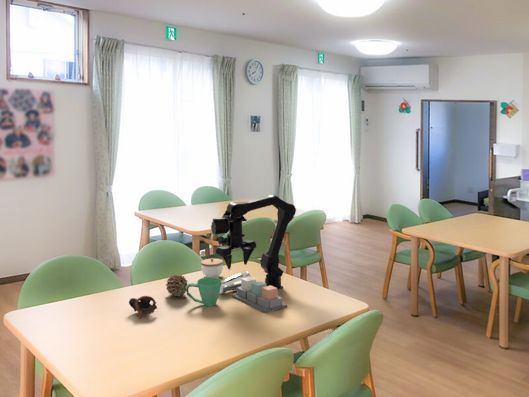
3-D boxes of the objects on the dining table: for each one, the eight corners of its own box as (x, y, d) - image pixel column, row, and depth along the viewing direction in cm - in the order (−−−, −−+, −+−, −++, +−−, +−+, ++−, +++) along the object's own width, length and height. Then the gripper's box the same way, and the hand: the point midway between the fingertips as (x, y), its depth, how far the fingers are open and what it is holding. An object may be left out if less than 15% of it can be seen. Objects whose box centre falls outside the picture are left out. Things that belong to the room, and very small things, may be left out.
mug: (219, 299, 218) (219, 276, 216) (223, 307, 208) (223, 283, 207) (185, 302, 214) (184, 279, 213) (187, 310, 205) (186, 286, 203)
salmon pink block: (270, 297, 211) (270, 285, 210) (277, 300, 207) (277, 288, 206) (261, 299, 208) (261, 287, 207) (268, 302, 205) (268, 290, 204)
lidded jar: (198, 279, 245) (198, 260, 243) (204, 273, 255) (204, 254, 254) (220, 280, 243) (220, 261, 242) (225, 274, 253) (225, 255, 252)
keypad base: (253, 291, 227) (253, 282, 226) (287, 306, 208) (287, 297, 207) (232, 296, 220) (232, 287, 220) (265, 313, 201) (265, 303, 201)
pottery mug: (161, 310, 206) (161, 297, 201) (150, 328, 199) (150, 315, 194) (134, 301, 208) (133, 288, 203) (122, 319, 201) (121, 305, 196)
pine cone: (192, 299, 217) (192, 277, 216) (170, 303, 213) (169, 280, 212) (180, 284, 237) (179, 264, 236) (159, 287, 234) (158, 266, 232)
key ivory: (250, 287, 223) (249, 276, 222) (256, 290, 219) (255, 279, 218) (241, 289, 220) (241, 278, 219) (247, 292, 216) (247, 281, 216)
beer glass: (220, 298, 224) (249, 288, 232) (224, 290, 219) (253, 281, 227) (213, 284, 227) (242, 275, 235) (217, 277, 222) (247, 268, 230)
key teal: (260, 292, 217) (260, 280, 216) (266, 295, 213) (266, 283, 212) (251, 294, 214) (251, 282, 213) (257, 297, 210) (257, 285, 210)
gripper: (240, 225, 233) (241, 258, 235) (207, 233, 220) (208, 268, 223) (256, 229, 225) (257, 263, 227) (223, 236, 212) (225, 273, 215)
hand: (237, 266), depth 223 cm, fingers open, 9 cm apart
